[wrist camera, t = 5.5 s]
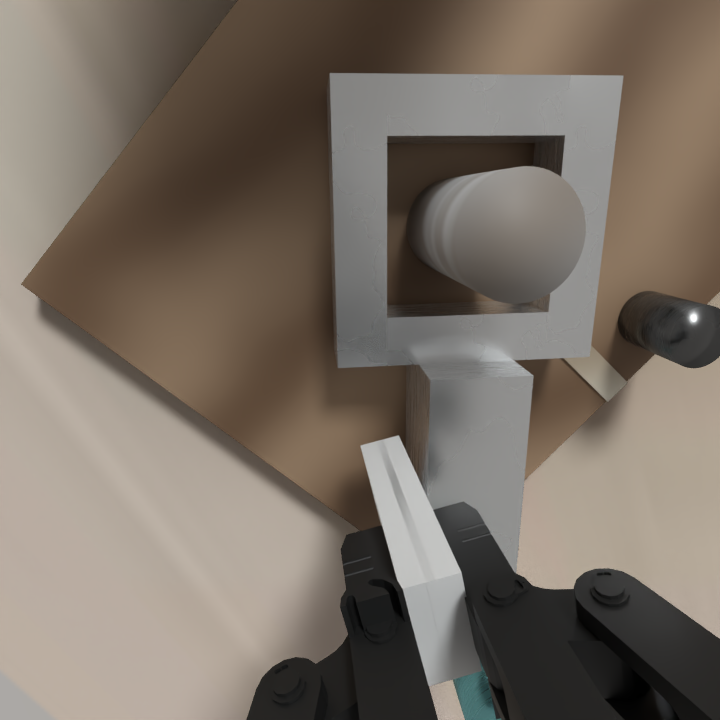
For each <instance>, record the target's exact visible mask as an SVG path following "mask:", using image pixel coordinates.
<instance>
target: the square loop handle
mask: <svg viewBox="0 0 720 720" xmlns="http://www.w3.org/2000/svg"><path fill="white" fill-rule="evenodd" d="M622 84H623V76H619V75H503V74H386V73H330V74H329V79H328V84H327V120H328V154H329V188H330V222H331V256H332V290H333V324H334V351H335V356H336V361H337V366H338V368H352V367H374V366H397V365H407V377H406V452H407V455H408V457H409V459H410V461H411V463H412V465H413V468H414V470H415V472H416V474H417V476H418V479H419V481H420V483H421V485H422V487H423V490H424V492H425V494H426V496H427V498H428V500H429V503H430V505H431V507H432V509H433V510H434V509H438V508H441V507H445V506H448V505H452V504H456V503H459V502H463V501H464V502H465V503H467V504H468V505H470V506H472V507H473V508H475V509H476V510H477V511H478V512H479V514H480V516H481V517H482V519H483V521H484V523H485V525H486V526H487V527H488V529H489V531H490V533H491V535H492V536H493V537H494V539H495V541H496V542H497V544H498V546H499V547H500V549H501V551H502V552H503V554H504V556H505V557H506V559H507V561H508V562H509V564H510V566H511V567H512V569H513V571H514V572H515V573H516V569H517V557H518V546H519V535H520V523H521V512H522V501H523V489H524V478H525V467H526V456H527V444H528V433H529V422H530V410H531V399H532V388H533V375H532V374H531V373H530V372H528V371H527V370H526V369H524V368H523V367H522V366H520V365H519V364H518V363H516V362H515V361H514V360H532V359H554V358H576V357H590V350H591V341H592V333H593V325H594V316H595V308H596V300H597V292H598V283H599V275H600V267H601V258H602V250H603V242H604V233H605V225H606V217H607V209H608V200H609V192H610V184H611V175H612V167H613V159H614V150H615V142H616V134H617V126H618V117H619V109H620V101H621V92H622ZM428 143H535V147H534V160H533V166H534V167H540V168H544V169H547V170H550V171H552V172H554V173H556V174H558V175H559V176H560V177H562V178H563V179H564V180H565V181H566V182H568V183H569V184H570V185H571V187H572V188H573V189H574V191H575V192H576V194H577V196H578V197H579V199H580V202H581V204H582V207H583V210H584V214H585V221H586V235H585V243H584V247H583V250H582V253H581V256H580V258H579V261H578V263H577V264H576V266H575V268H574V270H573V271H572V273H571V274H570V275H569V277H568V278H567V279H566V280H565V281H564V282H563V283H562V284H561V285H560V286H559V287H558V288H557V289H555V290H554V291H552V292H551V293H550V294H548V295H546V296H544V297H542V298H540V299H537V300H535V301H531V302H527V303H521V304H508V303H502V302H498V301H487V302H457V303H427V304H397V305H387V144H428ZM480 664H481V661H480ZM481 669H482V671H480V672H476V673H473V674H470V675H466V676H463V677H460V678H456V679H453V682H454V686H455V689H456V692H457V695H458V699H459V702H460V705H461V708H462V711H463V715H464V718H465V720H496V716H495V711H494V707H493V702H492V697H491V692H490V687H489V682H488V677H487V676H486V673H485V671H484V669H483V666H482V664H481ZM497 720H501V718H500V719H497Z"/></svg>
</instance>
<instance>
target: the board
mask: <svg viewBox="0 0 720 720" xmlns="http://www.w3.org/2000/svg"><path fill="white" fill-rule="evenodd" d="M330 73H386V74H503V75H619V76H623V84H622V92H621V101H620V109H619V117H618V126H617V134H616V142H615V150H614V159H613V167H612V175H611V184H610V192H609V200H608V209H607V217H606V225H605V233H604V242H603V250H602V258H601V267H600V275H599V283H598V292H597V300H596V308H595V316H594V325H593V333H592V341H591V350H590V357H576V358H554V359H532V360H514V361H515V362H516V363H518V364H519V365H520V366H522V367H523V368H524V369H526V370H527V371H528V372H530V373H531V374H532V375H533V388H532V399H531V410H530V422H529V433H528V444H527V456H526V467H525V478H524V480H525V479H526V478H527V477H528V476H529V475H530V474H531V473H532V472H533V471H534V470H535V469H536V468H538V467H539V466H540V465H541V464H542V463H543V462H544V461H545V460H546V459H547V458H548V457H549V456H550V455H551V454H552V453H553V452H554V451H555V450H556V449H557V448H558V447H559V446H560V445H561V444H562V443H563V442H564V441H565V440H566V439H568V438H569V437H570V436H571V435H572V434H573V433H574V432H575V431H576V430H577V429H578V428H579V427H580V426H581V425H582V424H583V423H584V422H585V421H586V420H587V419H588V418H589V417H590V416H591V415H592V414H593V413H594V412H595V411H596V410H598V409H599V408H600V407H601V406H602V405H603V404H604V403H605V402H606V401H607V402H608V401H609V400H610V399H611V398H612V397H613V396H614V395H616V394H617V393H618V392H619V391H620V390H621V389H622V388H623V387H624V386H625V385H626V384H627V383H628V382H627V381H628V380H629V379H630V378H631V377H632V376H633V375H634V374H635V373H636V372H637V371H638V370H639V369H640V368H641V367H642V366H643V365H644V364H645V363H646V362H647V361H648V360H649V359H650V358H651V357H652V356H653V355H654V353H652V352H650V351H647V350H645V349H643V348H640V347H638V346H636V345H633V344H631V343H629V342H627V341H626V340H625V339H624V338H623V337H622V336H621V334H620V332H619V329H618V317H619V313H620V311H621V309H622V307H623V305H624V304H625V303H626V302H627V301H628V300H629V299H630V298H631V297H632V296H634V295H635V294H637V293H640V292H643V291H655V292H659V293H663V294H667V295H671V296H675V297H678V298H682V299H686V300H690V301H694V302H698V303H702V304H707V303H708V302H709V301H710V300H711V299H712V298H713V297H714V296H715V295H716V294H718V293H719V292H720V0H238V1H237V2H236V3H235V4H234V6H233V7H232V8H231V10H230V11H229V12H228V14H227V15H226V16H225V18H224V19H223V20H222V22H221V23H220V24H219V25H218V27H217V28H216V29H215V31H214V32H213V33H212V35H211V36H210V37H209V39H208V40H207V41H206V42H205V44H204V45H203V46H202V48H201V49H200V50H199V52H198V53H197V54H196V56H195V57H194V58H193V60H192V61H191V62H190V63H189V65H188V66H187V67H186V69H185V70H184V71H183V73H182V74H181V75H180V77H179V78H178V79H177V80H176V82H175V83H174V84H173V86H172V87H171V88H170V90H169V91H168V92H167V94H166V95H165V96H164V98H163V99H162V100H161V101H160V103H159V104H158V105H157V107H156V108H155V109H154V111H153V112H152V113H151V115H150V116H149V117H148V118H147V120H146V121H145V122H144V124H143V125H142V126H141V128H140V129H139V130H138V132H137V133H136V134H135V136H134V137H133V138H132V139H131V141H130V142H129V143H128V145H127V146H126V147H125V149H124V150H123V151H122V153H121V154H120V155H119V156H118V158H117V159H116V160H115V162H114V163H113V164H112V166H111V167H110V168H109V170H108V171H107V172H106V174H105V175H104V176H103V177H102V179H101V180H100V181H99V183H98V184H97V185H96V187H95V188H94V189H93V191H92V192H91V193H90V195H89V196H88V197H87V198H86V200H85V201H84V202H83V204H82V205H81V206H80V208H79V209H78V210H77V212H76V213H75V214H74V215H73V217H72V218H71V219H70V221H69V222H68V223H67V225H66V226H65V227H64V229H63V230H62V231H61V233H60V234H59V235H58V236H57V238H56V239H55V240H54V242H53V243H52V244H51V246H50V247H49V248H48V250H47V251H46V252H45V253H44V255H43V256H42V257H41V259H40V260H39V261H38V263H37V264H36V265H35V267H34V268H33V269H32V271H31V272H30V273H29V274H28V276H27V277H26V278H25V280H24V281H23V282H22V284H21V285H23V286H24V287H25V288H27V289H28V290H30V291H31V292H32V293H34V294H35V295H36V296H38V297H39V298H41V299H42V300H43V301H45V302H46V303H47V304H49V305H50V306H52V307H53V308H54V309H56V310H57V311H58V312H60V313H61V314H63V315H64V316H65V317H67V318H68V319H70V320H71V321H72V322H74V323H75V324H76V325H78V326H79V327H81V328H82V329H83V330H85V331H86V332H87V333H89V334H90V335H92V336H93V337H94V338H96V339H97V340H98V341H100V342H101V343H103V344H104V345H105V346H107V347H108V348H109V349H111V350H112V351H114V352H115V353H116V354H118V355H119V356H120V357H122V358H123V359H125V360H126V361H127V362H129V363H130V364H132V365H133V366H134V367H136V368H137V369H138V370H140V371H141V372H143V373H144V374H145V375H147V376H148V377H149V378H151V379H152V380H154V381H155V382H156V383H158V384H159V385H160V386H162V387H163V388H165V389H166V390H167V391H169V392H170V393H171V394H173V395H174V396H176V397H177V398H178V399H180V400H181V401H182V402H184V403H185V404H187V405H188V406H189V407H191V408H192V409H194V410H195V411H196V412H198V413H199V414H200V415H202V416H203V417H205V418H206V419H207V420H209V421H210V422H211V423H213V424H214V425H216V426H217V427H218V428H220V429H221V430H222V431H224V432H225V433H227V434H228V435H229V436H231V437H232V438H233V439H235V440H236V441H238V442H239V443H240V444H242V445H243V446H244V447H246V448H247V449H249V450H250V451H251V452H253V453H254V454H256V455H257V456H258V457H260V458H261V459H262V460H264V461H265V462H267V463H268V464H269V465H271V466H272V467H273V468H275V469H276V470H278V471H279V472H280V473H282V474H283V475H284V476H286V477H287V478H289V479H290V480H291V481H293V482H294V483H295V484H297V485H298V486H300V487H301V488H302V489H304V490H305V491H306V492H308V493H309V494H311V495H312V496H313V497H315V498H316V499H318V500H319V501H320V502H322V503H323V504H324V505H326V506H327V507H329V508H330V509H331V510H333V511H334V512H335V513H337V514H338V515H340V516H341V517H342V518H344V519H345V520H346V521H348V522H349V523H351V524H352V525H353V526H355V527H356V528H357V529H359V530H360V531H363V530H366V529H370V528H374V527H377V526H381V523H380V519H379V516H378V512H377V508H376V504H375V500H374V496H373V493H372V489H371V485H370V481H369V477H368V473H367V469H366V466H365V462H364V458H363V454H362V450H361V445H364V444H368V443H372V442H375V441H379V440H383V439H387V438H391V437H394V436H398V435H399V437H400V439H401V441H402V444H403V446H404V448H405V450H406V377H407V365H397V366H374V367H352V368H338V366H337V361H336V356H335V351H334V324H333V290H332V256H331V222H330V188H329V154H328V120H327V84H328V79H329V74H330ZM534 147H535V143H428V144H387V305H397V304H427V303H457V302H487V301H498V302H502V303H508V304H521V303H527V302H531V301H535V300H537V299H540V298H542V297H544V296H546V295H548V294H550V293H551V292H552V291H554V290H555V289H557V288H558V287H559V286H560V285H561V284H562V283H563V282H564V281H565V280H566V279H567V278H568V277H569V275H570V274H571V273H572V271H573V270H574V268H575V266H576V264H577V263H578V261H579V258H580V256H581V253H582V250H583V247H584V243H585V235H586V221H585V214H584V210H583V207H582V204H581V202H580V199H579V197H578V196H577V194H576V192H575V191H574V189H573V188H572V187H571V185H570V184H569V183H568V182H566V181H565V180H564V179H563V178H562V177H560V176H559V175H558V174H556V173H554V172H552V171H550V170H547V169H544V168H540V167H534V166H533V160H534Z"/></svg>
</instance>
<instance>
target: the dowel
mask: <svg viewBox="0 0 720 720" xmlns="http://www.w3.org/2000/svg"><path fill="white" fill-rule="evenodd" d="M618 329H619V332H620V334H621V336H622V337H623V338H624V339H625V340H626V341H627V342H629V343H631V344H633V345H636V346H638V347H640V348H643V349H645V350H647V351H650V352H652V353H654V354H657V355H659V356H661V357H663V358H666V359H668V360H670V361H673V362H675V363H677V364H680V365H682V366H684V367H688V368H700V367H703V366H706V365H708V364H710V363H712V362H713V361H715V360H716V359H717V358H718V357H719V356H720V309H719V308H717V307H714V306H710V305H706V304H702V303H698V302H694V301H690V300H686V299H682V298H678V297H675V296H671V295H667V294H663V293H659V292H655V291H643V292H640V293H637V294H635V295H634V296H632V297H631V298H630V299H629V300H628V301H627V302H626V303H625V304H624V305H623V307H622V309H621V311H620V313H619V317H618Z"/></svg>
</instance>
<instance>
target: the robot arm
mask: <svg viewBox="0 0 720 720" xmlns="http://www.w3.org/2000/svg"><path fill="white" fill-rule="evenodd" d="M361 450H362V454H363V458H364V462H365V466H366V469H367V473H368V477H369V481H370V485H371V489H372V493H373V496H374V500H375V504H376V508H377V512H378V516H379V519H380V523H381V526H377V527H374V528H370V529H366V530H363V531H359V532H356V533H352V534H348V535H346V538H345V540H344V543H343V545H342V548H341V554H342V561H343V568H344V575H345V583H346V591H345V593H344V594H343V596H342V598H341V605H340V608H341V612H342V615H343V618H344V621H345V625H346V628H347V631H348V636H347V637H346V639H345V641H344V643H343V644H342V645H341V646H340V647H339V648H338V649H337V650H336V651H335V652H334V653H332V654H331V655H330V656H328V657H327V658H325V659H323V660H322V661H320V662H318V663H317V664H315V663H313V662H312V661H310V660H309V659H306V658H298V657H295V658H291V659H287V660H284V661H282V662H280V663H278V664H277V665H275V666H273V667H272V668H271V669H270V670H269V671H268V672H267V673H266V674H265V675H264V676H263V677H262V679H261V681H260V683H259V685H258V687H257V689H256V692H255V695H254V698H253V701H252V704H251V707H250V710H249V714H248V717H247V720H438V718H437V715H436V711H435V707H434V704H433V700H432V696H431V693H430V689H429V686H431V685H435V684H438V683H442V682H445V681H448V680H453V679H456V678H460V677H463V676H466V675H470V674H473V673H476V672H480V671H482V669H481V664H482V666H483V669H484V671H485V673H486V676H487V677H488V682H489V687H490V692H491V697H492V702H493V707H494V711H495V716H496V720H497V719H500V718H501V720H720V639H719V638H718V637H716V636H715V635H713V634H712V633H711V632H709V631H708V630H706V629H705V628H704V627H702V626H701V625H700V624H698V623H697V622H695V621H694V620H693V619H691V618H690V617H688V616H687V615H686V614H684V613H683V612H681V611H680V610H679V609H677V608H676V607H674V606H673V605H672V604H670V603H669V602H667V601H666V600H665V599H663V598H662V597H661V596H659V595H658V594H656V593H655V592H654V591H652V590H651V589H649V588H648V587H647V586H645V585H644V584H642V583H641V582H640V581H638V580H637V579H635V578H634V577H632V576H630V575H628V574H626V573H624V572H622V571H618V570H613V569H594V570H591V571H588V572H585V573H584V574H582V575H581V576H580V577H579V578H578V579H577V580H576V583H575V586H574V589H559V590H553V589H543V588H539V587H535V586H532V585H531V584H530V583H529V582H528V581H527V580H526V579H525V578H524V577H522V576H520V575H518V574H516V573H515V572H514V571H513V569H512V567H511V566H510V564H509V562H508V561H507V559H506V557H505V556H504V554H503V552H502V551H501V549H500V547H499V546H498V544H497V542H496V541H495V539H494V537H493V536H492V535H491V533H490V531H489V529H488V527H487V526H486V525H485V523H484V521H483V519H482V517H481V516H480V514H479V512H478V511H477V510H476V509H475V508H473V507H472V506H470V505H468V504H467V503H465V502H464V501H463V502H459V503H456V504H452V505H448V506H445V507H441V508H438V509H434V510H433V509H432V507H431V505H430V503H429V500H428V498H427V496H426V494H425V492H424V490H423V487H422V485H421V483H420V481H419V479H418V476H417V474H416V472H415V470H414V468H413V465H412V463H411V461H410V459H409V457H408V455H407V452H406V450H405V448H404V446H403V444H402V441H401V439H400V437H399V435H398V436H394V437H391V438H387V439H383V440H379V441H375V442H372V443H368V444H364V445H361ZM480 661H481V664H480Z"/></svg>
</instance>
